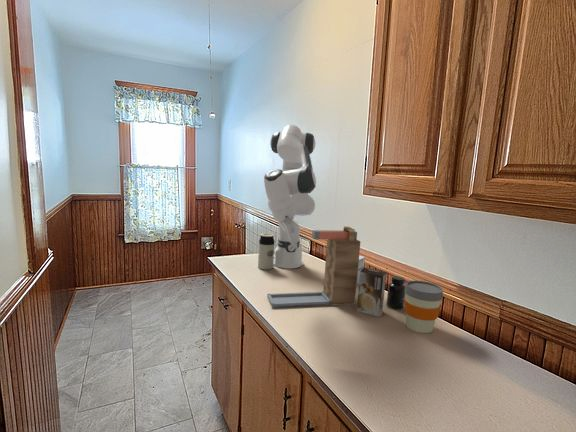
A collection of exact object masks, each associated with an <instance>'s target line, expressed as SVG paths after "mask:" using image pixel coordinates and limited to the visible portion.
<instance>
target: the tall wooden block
mask: <svg viewBox="0 0 576 432" xmlns="http://www.w3.org/2000/svg"><path fill="white" fill-rule="evenodd" d="M342 231H349V235H348V239H326V241H327V243H326V252H325V253H326V254H325V265H324V266H325V267H324V278H323V291H322V292H324V294H325V295H326V296H327V297H328V298H329V299H330V300H331V305H330V306H337V305H338V306H340V305H355V302H356V292H357V285H358V284H357V273H358V263H359V256H360V250H361V241H360V240H358V239H357V240H355V239H354V232H355V231H356V230H355V229H354V228H352V227H350V226H343V230H342ZM356 284H357V285H356Z"/></svg>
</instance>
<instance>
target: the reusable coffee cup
mask: <svg viewBox="0 0 576 432" xmlns="http://www.w3.org/2000/svg"><path fill="white" fill-rule="evenodd" d="M404 292H405V298H404V308H403V310H404V311H403V312H405V326H406V327H407V328H408V329H410V331H413V332H417V333H420V334H430V333H432V332H433V330H434V326H435V323H436V320H438V317H439V314H440V311H441V307H442V306H441V305H442V304H441V302H442V300H443V299H444V289H443V288H442V287H441V285H440V286H439V285H437V284H436V283H432V282H429V281H424V280H407V281H406V283H405V290H404Z"/></svg>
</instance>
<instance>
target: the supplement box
mask: <svg viewBox="0 0 576 432" xmlns="http://www.w3.org/2000/svg"><path fill="white" fill-rule="evenodd" d="M365 262H366V256H363V255H359V263H358V273H357V284H356V286H357V285H359V277H360V271H361V270H362V269H363V268H365Z"/></svg>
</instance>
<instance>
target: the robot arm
mask: <svg viewBox="0 0 576 432" xmlns="http://www.w3.org/2000/svg"><path fill="white" fill-rule="evenodd" d="M269 144H270V148H271V151H272V152H273V153H275V154H278V157H280V159H282V169H279V168H274V169H272V170H271V169H270V170H269V171H267V172H266V173H265V174H264V176H263V182H264V188H265V194H266V196H267V199H268V201H267V202H268V203H267V205H268V209H269V210H270V211H271V214H272V217H273V220H274V221H275V222H278V239H277V246H276V247H275V248H274V260H273V267H277V268H281V269H297V268H299V267H301V266H305V263H304V261H303V250H302V249H301V248H300V247H301V241H300V234H301V233H300V232H301V227H300V225H299V223H298V222H296V221H295V220H294V217H296V216H300V217H301V216H302V217H303V216H305V217H306V216H311V215H312V214H313V212H315V209H316V203H315V200H314V199H313V197H312V196H311V195H310V193H312V192H313V191H314V190H315V188H316V187H317V186H316V185H317V177H316V175H315V172H314V169H313V164H312V159H311V158H312V157H311V156H310V155H312V153H314V150H315V148H316V139H315V136H314V135H313V133H309V132H302V131H301V129H300V128H299V127H298V126H297V125H295V124H288V125H286V126H285V127H284V128H283V129H282V131H276V132H274V133H273V134H272V136H271V138H270V142H269Z"/></svg>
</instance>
